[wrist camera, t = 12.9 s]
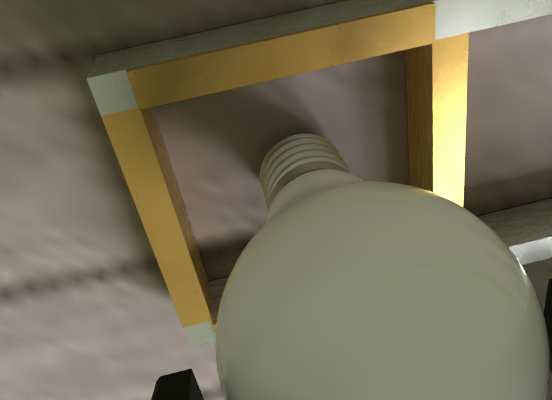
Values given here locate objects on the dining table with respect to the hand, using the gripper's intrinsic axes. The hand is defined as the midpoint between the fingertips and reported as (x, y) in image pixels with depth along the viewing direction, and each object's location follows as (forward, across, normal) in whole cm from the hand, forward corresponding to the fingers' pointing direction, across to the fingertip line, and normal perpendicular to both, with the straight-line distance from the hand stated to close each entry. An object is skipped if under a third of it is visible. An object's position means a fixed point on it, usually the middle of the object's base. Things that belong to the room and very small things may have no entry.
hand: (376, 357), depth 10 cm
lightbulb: (+8, 0, 0) cm, 8 cm away
